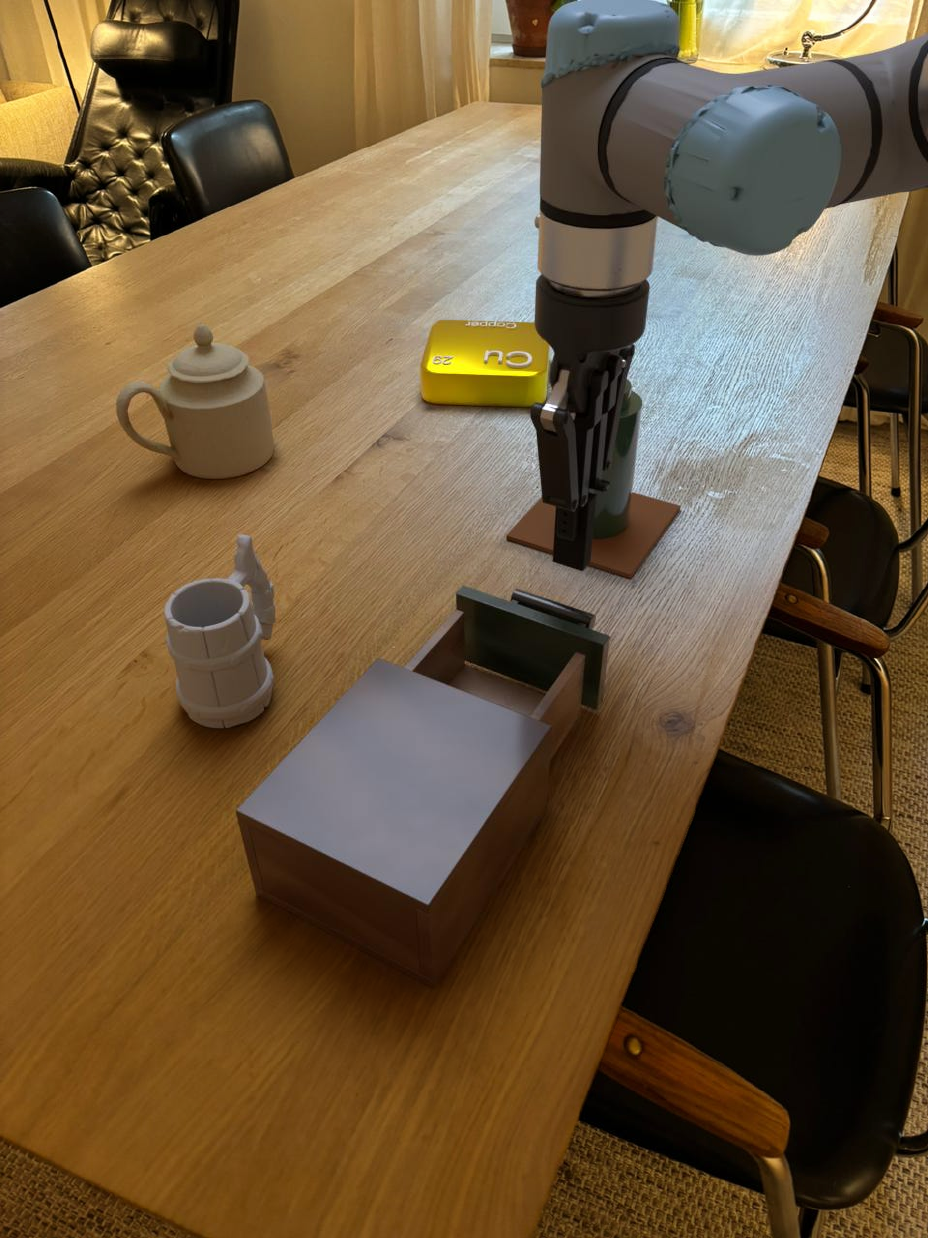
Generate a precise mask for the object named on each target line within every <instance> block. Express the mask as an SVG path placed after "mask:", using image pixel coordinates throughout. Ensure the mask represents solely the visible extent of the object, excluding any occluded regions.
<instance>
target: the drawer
mask: <svg viewBox="0 0 928 1238" xmlns="http://www.w3.org/2000/svg"><path fill="white" fill-rule="evenodd" d="M596 619H597V616H596V615H595V614H594V613H591V612H588V611H585V610H582V609H579V608H576V607H573V606H570V605H567V604H564V603H561V602H559V601H555V600H553V599H549V598H546V597H544V596H540V595H537V594H534V593H532V592H528V591H526V590H522V589H520V588H515V589H514V590H513V592H512V593H511V597H510V600H506V599H504V598H501V597H498V596H495V595H492V594H489V593H488V592H487V593H486V592H484V591H481V590H477V589H475V588H472V587H469V586H466V585H462V586H461V587H460V588H459V589H458V590H457V592H456V593H455V609H454V610H453V612H452V613H451V614H450V615H449V616H448V617H447V618H446V619H445V620H444V621H443V622H442V624H441V625H440V626H439V627H438V628H437V629H436V630H435V632H434V633H433V634H431V636H430V637H429V638H428V639H427V641H426V642H425V643H424V644H423V645H422V646H421V647H420V648H419V649H418V650H417V652H416V653H415V654H414V655H413V656H412V657H411V658H410V659H409V660H408V662H407V663H406V664H405V665H404V666H402V667H403V668H406V669H408V670H411V671H413V672H416V673H419V674H421V675H424V676H426V677H429V678H431V679H434V680H436V681H439V682H442V683H444V684H447V685H449V686H452V687H454V688H457V689H459V690H462V691H465V692H467V693H470V694H472V695H475V696H477V697H480V698H482V699H485V700H488V701H490V702H493V703H495V704H498V705H500V706H503V707H506V708H508V709H511V710H513V711H516V712H518V713H521V714H523V715H526V716H529V717H531V718H534V719H536V720H539V721H541V722H544V723H546V724H549V725H551V726H552V737H551V752H550V761H551V760H552V758H553V757H554V756H555V754H556V752H557V751H558V749H560V746H561V745H562V744H563V742H564V740H565V739H566V738H567V736H568V735H569V733H570V731H571V730H572V728H573V727H574V725H575V724H576V722H577V721H578V719H579V718H580V717H581V711H582V710H581V709H582V708H581V707H582V706H584V707H586V708H589V709H592V710H595V711H598V710H599V708H600V706H601V705H602V704H603V701H604V694H605V693H604V692H605V683H606V676H607V675H606V674H607V668H608V667H607V665H608V658H609V648H610V641H611V639H610V638H611V636H610V635H609V634H605V633H603V632H601V631H600V632H599V631H597V630H594V629H593V628H594V627H595V623H596ZM466 662H467V663H470V664H472V665H474V666H477V667H481V668H483V669H485V670H488V671H491V672H494V673H496V674H499V675H502V676H505V677H507V678H509V679H512V680H515V681H518V682H520V683H523V684H526V685H528V686H530V687H533V688H536V689H539V690H541V691H544V692H546V694H544V693H541V692H538V691H536V690H533V689H530V688H527V687H526V686H522V685H520V684H518V683H514V682H512V681H510V680H506V679H504V678H502V677H499V676H496V675H493V674H491V673H488V672H485V671H482V670H480V669H477V668H474V667H472V666H470V665H468V664H466Z"/></svg>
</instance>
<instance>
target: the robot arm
mask: <svg viewBox="0 0 928 1238" xmlns="http://www.w3.org/2000/svg"><path fill="white" fill-rule="evenodd" d="M547 26H548V27H547V38H546V49H545V50H546V51H545V64H544V74H543V76H542V77H541V81H540V88H541V118H540V119H541V121H540V128H541V129H540V163H539V164H540V165H539V214H537V215H536V216H535V218H534V227H535V228H536V229H538V238H537V239H538V240H537V241H538V242H537V263H536V264H537V270H538V271H539V273H540V275H539V276H538V277H537V279H536V281H535V295H534V296H535V298H534V303H535V304H534V321H533V322H534V324H535V329H536V331H537V333H538V334H539V336H540V337H541V338H542V339H544V340H545V341H546V342H547V343H548V344H549V345H550V349H552V351H553V356H552V361H551V363H550V365H549V373H548V382H549V385H550V388H551V392H550V393H549V396H548V398H547V399H546V401H545V403H543V404H541V403H538V402H535V403H534V404H533V406H532V407H531V409H530V414H529V417H530V418H529V419H530V420H531V422H532V425H533V428H534V429H535V434H536V446H537V456H538V457H537V458H538V466H539V468H538V469H539V478H540V489H541V497H542V501H543V503H546V504H549V505H552V506H555V507H556V513H555V529H554V546H553V554H552V562H553V563H556V564H558V565H561V566H564V567H568V568H571V569H573V570H578V571H580V572H584V571H585V569H587V567H588V566H589V565H588V564H589V563H590V561H591V550H592V540H593V529H594V518H595V507H596V496H597V494H594V490H597V491H600V492H603V493H606V492H607V491H608V489H609V486H610V481H606V480H602V471H603V472H607V471H608V470H609V469H610V467H611V461H612V455H613V450H614V444H615V439H616V434H617V428H618V423H619V418H620V412H621V407H622V402H623V396H624V391H625V386H626V380H627V379H628V376H629V372H630V369H631V365H632V362H633V359H634V356H635V353H636V346H635V344H636V343H637V342H638V341H639V340H640V339H641V338H642V336H643V335H644V333H645V330H646V325H647V316H648V315H647V314H648V307H649V299H650V298H649V297H650V289H651V287H650V283H649V281H648V280H647V279H648V278H649V277H650V276H651V275H652V273H653V270H654V261H655V251H656V242H657V234H658V233H657V232H658V222H659V218H660V219H662V220H664V221H666V222H667V223H670V224H671V225H673V226H675V227H677V228H679V229H681V230H683V231H684V232H686V233H687V234H688V235H690V236H691V237H692V238H693V237H695V238H696V239H697V240H698V241H700V242H702V243H709V244H710V245H712V246H714V247H717V248H725V249H728V250H730V251H734V252H736V253H739V254H742V255H746V256H754V257H755V256H756V257H759V256H760V257H761V256H762V257H763V256H768V255H772V254H776V253H779V252H781V251H783V250H785V249H786V248H788V247H790V246H791V245H792V243H793V242H794V240H795V239H796V238H797V237H798V236H800V235H801V234H804V233H807V232H808V231H810V229H812V227H814V225H815V224H816V223H817V221H818V220H819V219H820V217H821V216H822V214H823V213H824V211H825V210H827V209H832V208H835V207H838V206H840V205H841V206H842V205H846V204H850V203H855V202H861V201H865V200H870V199H875V198H880V197H885V196H891V195H895V194H900V193H910V192H915V191H920V190H925V189H928V32H927V33H924V34H922V35H920V36H917V37H915V38H911V39H909V40H907V41H905V42H903V43H900V44H897V45H894V46H891V47H889V48H886V49H883V50H877V51H875V52H874V51H873V52H870V53H865V54H860V55H853V56H849V57H845V58H844V57H843V58H840V59H838V58H835V59H827V60H821V61H814V62H809V63H802V64H793V65H788V66H781V67H780V66H779V67H773V68H767V69H761V70H753V71H749V72H740V73H726V72H720V71H715V70H711V69H707V68H703V67H700V66H696V65H692V64H690V63H688V62H685V61H683V60H681V59H678V57H679V54H680V51H681V49H682V48H681V46H680V19H679V15H678V13H677V12H676V11H675V10H674V9H673V7H671V6H670V5H669V4H667V3H664V2H661V1H658V0H574V1H571V2H568V3H566V4H565V3H564V4H563V5H562V6H561V7H559V8H558V9H557V10H556V11H554V13H553V15H551V17H550V20H549V22H548V25H547Z"/></svg>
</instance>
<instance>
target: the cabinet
mask: <svg viewBox="0 0 928 1238" xmlns="http://www.w3.org/2000/svg"><path fill="white" fill-rule="evenodd" d="M403 667H404V666H401V665H398V664H395V663H393V662H390V661H388V660H385V659H383V658H380V657H377V658H376V659H375V660H374V661H373V663H371V665H370V666H369V667H368V668H367V669H365V670H364V672H363V673H362V674H361V675H360V676H359V677H358V678H357V679H356V680H355V681H354V682H353V684H352V685H351V686H350V687H349V688H348V689H347V690H346V691H345V693H344V694H342V695H341V697H340V698H339V699H338V700H337V701H336V702H335V703H334V704H333V705H332V706H331V707H330V708H329V710H328V711H326V713H325V714H324V715H323V716H322V717H321V718H320V719H319V720H318V721H317V723H315V724H314V725H313V726H312V727H311V729H310V730H309V731H308V732H307V733H306V734H305V735H304V737H302V738H301V740H299V742H298V743H297V744H296V745H295V746H294V747H293V748H292V749H291V750H290V751H289V752H288V754H286V756H285V757H284V758H283V759H282V760H281V761H280V762H279V763H278V764H277V765H276V766H275V767H274V769H272V770H271V772H269V774H267V776H266V777H265V778H264V779H263V780H262V782H260V784H258V785H257V786H256V787H255V789H254V790H253V791H252V792H251V793H250V794H249V795H248V796H247V797H246V798H245V799H244V800H243V801H242V802H241V804H240V805H239V806H237V808H236V809H235V815H236V819H237V825H238V827H239V832H240V836H241V839H242V844H243V847H244V851H245V855H246V860H247V862H248V867H249V871H250V876H251V879H252V884H253V887H254V892H255V894H256V896H258V897H260V898H261V899H263V900H265V901H267V902H269V903H271V904H273V905H275V906H276V907H279V908H280V909H282V910H283V911H284V910H285V912H288V913H290V914H292V915H293V916H295V917H297V918H299V919H301V920H303V921H305V922H306V923H309V924H311V925H312V926H314V927H316V928H318V929H319V930H322V931H324V932H326V933H328V934H330V935H331V936H333V937H335V938H337V939H338V940H341V941H342V942H344V943H346V944H348V945H350V946H352V947H354V948H355V949H358V950H360V951H361V952H363V953H365V954H367V955H369V956H371V957H373V958H375V959H377V960H378V961H381V962H382V963H384V964H385V965H388V966H389V967H391V968H393V969H395V970H397V971H399V972H401V973H403V974H405V975H406V976H408V977H410V978H412V979H413V980H416V981H418V982H419V983H421V984H424V985H426V986H427V987H429V988H431V989H435V987H436V986H437V984H438V983H439V982H440V979H441V978H442V976H443V974H444V973H445V971H446V970H447V969H448V967H449V966H450V964H451V962H452V960H453V959H454V957H455V955H456V954H457V953H458V951H459V950H460V948H461V946H463V943H464V942H465V940H466V938H467V937H468V935H469V934H470V932H471V930H472V929H473V927H474V926H475V924H476V923H477V922H478V920H479V918H480V917H481V915H482V913H483V912H484V910H485V908H486V907H487V905H488V904H489V902H490V901H491V899H492V898H493V896H494V894H495V893H496V891H497V890H498V888H499V886H500V885H501V883H502V882H503V880H504V878H506V875H507V874H508V873H509V871H510V869H511V868H512V866H513V864H514V863H515V862H516V860H517V858H518V857H519V855H520V853H521V852H522V850H523V849H524V847H525V845H527V842H528V840H529V839H530V838H531V836H532V834H533V833H534V831H535V830H536V829H537V826H538V825H539V824H540V822H541V820H542V819H543V817H544V816H545V814H546V813H547V810H548V795H549V781H550V780H549V779H550V767H551V766H550V764H551V763H550V762H551V760H550V752H551V737H552V726H551V725H549V724H546V723H544V722H541V721H539V720H536V719H534V718H531V717H529V716H526V715H523V714H521V713H518V712H516V711H513V710H511V709H508V708H506V707H503V706H500V705H498V704H495V703H493V702H490V701H488V700H485V699H482V698H480V697H477V696H475V695H472V694H470V693H467V692H465V691H462V690H459V689H457V688H454V687H452V686H449V685H447V684H444V683H442V682H439V681H436V680H434V679H431V678H429V677H426V676H424V675H421V674H419V673H416V672H413V671H411V670H408V669H406V668H403Z"/></svg>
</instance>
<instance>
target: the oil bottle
mask: <svg viewBox="0 0 928 1238" xmlns="http://www.w3.org/2000/svg"><path fill="white" fill-rule="evenodd" d="M643 405H644V404H643V400H642V397H641V396H640V394H639V393H637V392H635V391H634V390H633V384H632V382H631V381H630V380H629V379H628V378H627V380H626V386H625V391H624V396H623V402H622V407H621V412H620V418H619V423H618V428H617V434H616V439H615V444H614V450H613V455H612V461H611V467H610V469H609V470H608V471H607V472H603V471H602V480H606V481H610V486H609V489H608V491H607V492H606V493H603V492H600V491H597V490H594V494H597V496H596V507H595V518H594V529H593V539H604V538H610V537H614V536H616V535H619V534H620V533H622V532H623V531H624V530H625V529H626V528H627V526H628V524H629V516H630V508H631V499H632V492H633V490H634V481H635V472H636V463H637V455H638V446H639V438H640V431H641V430H640V428H641V421H642V412H643Z"/></svg>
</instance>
